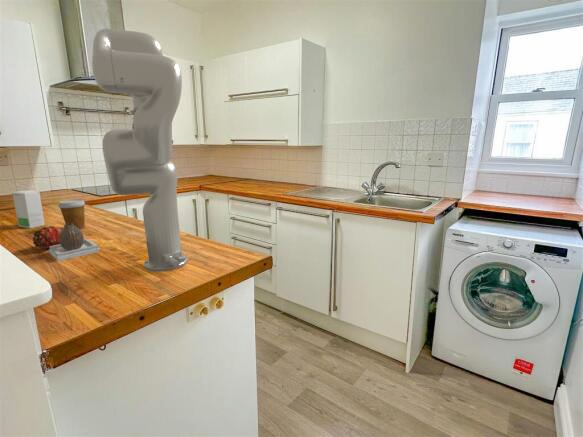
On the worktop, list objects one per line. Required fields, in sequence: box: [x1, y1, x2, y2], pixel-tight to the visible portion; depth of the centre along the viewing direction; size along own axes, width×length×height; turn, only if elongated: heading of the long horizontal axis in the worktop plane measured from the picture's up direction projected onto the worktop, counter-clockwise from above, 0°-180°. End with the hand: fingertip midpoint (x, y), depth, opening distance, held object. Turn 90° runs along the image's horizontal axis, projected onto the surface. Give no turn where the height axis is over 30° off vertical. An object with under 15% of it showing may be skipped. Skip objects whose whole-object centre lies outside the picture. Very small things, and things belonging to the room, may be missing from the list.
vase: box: [59, 223, 85, 251], centre depth 108 cm, size 7×7×9 cm
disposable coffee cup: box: [57, 198, 86, 230], centre depth 138 cm, size 10×10×12 cm
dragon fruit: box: [32, 225, 62, 251], centre depth 114 cm, size 8×8×12 cm
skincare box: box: [12, 189, 46, 229], centre depth 142 cm, size 8×7×16 cm
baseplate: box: [48, 238, 101, 262], centre depth 109 cm, size 12×12×2 cm
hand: (152, 164), depth 115 cm, fingers open, 9 cm apart
